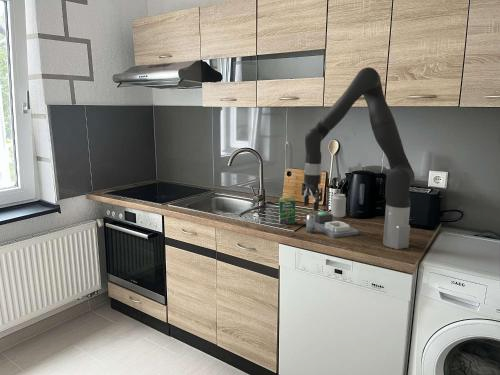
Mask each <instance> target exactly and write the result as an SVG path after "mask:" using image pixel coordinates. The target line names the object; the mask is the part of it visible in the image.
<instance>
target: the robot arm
mask: <svg viewBox="0 0 500 375" xmlns="http://www.w3.org/2000/svg"><path fill="white" fill-rule="evenodd" d="M362 96H363V98H364V100H365V103H366V105H367V110H368V115H369V121H370V122H369V123H370V126H371V130H372V134H373V136H374V138H375V140H376V143H377V144H378V147H380V149H381V150H382V153H383V154H384V155H385V157H386V158H387V162H388V164H389V168H390V170H389V171H388V172H387V174H386V178H385V194H384V196H385V202H386V203H385V213H384V226H383V237H382V238H383V239H382V244H383V246H385V247H387V248H391V249H395V250H402V249H408V248H409V244H410V233H411V225H410V223H409V222H410V212H411V198H410V188H411V185H413V183H414V181H415V172H414V169H413V168H412V166H411V164H410V161H409V160H408V157H407V155H406V152H405V149H404V146H403V142H402V139H401V135H400V132H399V130H398V126H397V123H396V120H395V118H394V116H393V113H392V111H391V108H390V106H389V105H388V103H387V101H386V98H385V95H384V91H383V85H382V80H381V76H380V74H379V73H378V71H377V70H376V69H375V68H373V67H369V66H368V67H364V68H362V69H361V70H359V71H358V72H357V74H356V75H355V77H354V78H353V80H352V81H351V82H350V85H348V87H347V88H346V90H345V91H343V93H342V95H341V96H340V97H339V98H338V99H337V100H336V102H334V103H333V105H332V106H331V107H330V108H329V109H328V110H327V111H326V112H325V113H324V114H323V115H322V116H321V118H320V119H319V121H318V122H317V123H316V124H315V125H314V126H313V127H312V128H310V129H308V130H307V131H306V133H305V139H304V144H305V161H304V163H305V164H304V170H303V171H304V174H303V183H302V184H301V196H303V205H304V206H305V207H308V206H309V205H310V196H311V198H312V199H313V211H319V209H320V208H319V206H320V202H323V190H324V189H323V188H322V187H319V185H320V184H321V182H322V151H321V145H322V141H324V139H325V138H326V137H327V136H328V134H330V132H331V131H332V130H333V129H334V128H335V127H336V126H337V125H338V124H339V123H340V122H341V121H342V120H343V119H344V118H345V116H346V115H347V114H348V113H349V111H350V109H351V108H352V106H353V105H355V103H356V102H357V101H358V100H359V99H360V98H361V97H362Z"/></svg>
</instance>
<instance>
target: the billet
mask: <svg viewBox="0 0 500 375" xmlns="http://www.w3.org/2000/svg"><path fill="white" fill-rule="evenodd" d="M305 219H306V223H305V232H306V233H307V234H315V231H316V229H315V215H313V214H312V213H310V214H309V213H308V214H306V218H305Z"/></svg>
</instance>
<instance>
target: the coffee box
mask: <svg viewBox="0 0 500 375" xmlns="http://www.w3.org/2000/svg"><path fill="white" fill-rule="evenodd" d="M278 223H279V225H295V224H296V198H295V197H279V198H278Z"/></svg>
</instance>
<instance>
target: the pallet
mask: <svg viewBox="0 0 500 375" xmlns="http://www.w3.org/2000/svg"><path fill="white" fill-rule="evenodd" d="M318 212H326V213H327V214H325V215H320V214H318ZM311 214H313V215H315V230H318V231H320V232H322V233H323V234H325V235H327V236H328V237H331V238H333V239H335V238H342V237H350V236H354V235H355V236H357V235H359V234H360V231H359V230H358V229H356V228H353V227H351V226H350V224H349V223H346V222H343V221H339V220H335V219H333V218H334V217H333V214H331V212H328V211H326V210H321V211H320V210H317V211H312V212H311ZM304 222H305V223H304ZM303 223H304V224H306V218H304V219H303Z"/></svg>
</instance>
